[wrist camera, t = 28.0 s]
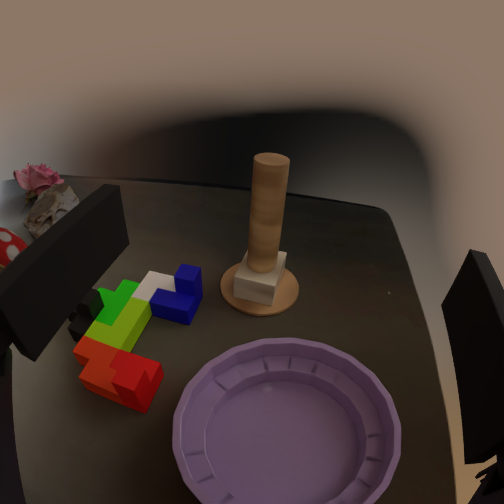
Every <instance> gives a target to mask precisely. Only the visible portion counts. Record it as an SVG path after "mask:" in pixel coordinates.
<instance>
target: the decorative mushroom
mask: <svg viewBox="0 0 504 504" xmlns="http://www.w3.org/2000/svg"><path fill="white" fill-rule="evenodd" d="M26 247H28V246H27V245H26V243H25V242H24V241H23V240H22V239H21V238H20V237H19V236H18V235H17V234H15V233H14V232H12V231H10V230H7V229H5V228H0V271H1V270H2V269H3V268H6V265H7V264H8V263H9V262H10V261H12V260H14V258H15V257H16V256H17V255H18V254H19V253H20V252H21V251H22V250H23V249H25V248H26Z"/></svg>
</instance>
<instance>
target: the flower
mask: <svg viewBox="0 0 504 504" xmlns="http://www.w3.org/2000/svg"><path fill="white" fill-rule="evenodd" d="M26 167H27V169H22V171H21V172H20V171H14V173H13V174H14V177H15V179H16V180H17V181H18V184H19V185H20V186H21V187H22V188H24V189H25V190H28V192H27V193H26V194H27V197H26V204H27V203H28V202H29V200H31V203H32V201H33V200H34V199H35V198H36V197H38V196H39V195H40V194H41V193H42V192H43V191H45V190H47V189H48V188H50V187H51V186H53V185H54V184H60V183H63V182H64V179H59V178H60V176H59V175H58V173H57V172H53V170H51V169H50V167H49V168H46V165H45V164H44V165H43V164H41V166H33V165H30V166H29V163H28V164H27V166H26ZM25 206H26V205H25ZM24 208H25V207H24ZM23 210H24V209H23ZM21 213H22V212H21Z"/></svg>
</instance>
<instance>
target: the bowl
mask: <svg viewBox="0 0 504 504" xmlns="http://www.w3.org/2000/svg"><path fill="white" fill-rule="evenodd" d="M172 450H173V453H174V456H175V459H176V462H177V465H178V468H179V470H180V473H181V476H182V479H183V481H184V483H185V484H186V486H187V487H188V489H189V490H190V491H191V492H192V494H193V495H194V496H195V497H196V498H197V500H198V501H199V502H200V503H201V504H374V503H375V501H376V500H377V499H378V498H379V497H380V496H381V495H382V493H383V492H384V491H385V490H386V489H387V488H388V486H389V484H390V482H391V479H392V477H393V474H394V472H395V469H396V467H397V464H398V461H399V459H400V455H401V424H400V421H399V418H398V415H397V412H396V409H395V406H394V403H393V400H392V398H391V396H390V394H389V393H388V392H387V390H386V389H385V388H384V386H383V385H382V383H381V382H380V381H379V379H378V378H377V377H376V375H375V374H374V373H373V372H372V371H370V370H369V369H368V368H367V367H365V366H364V365H363V364H361V363H360V362H359V361H358V360H356V359H355V358H354V357H352V356H351V355H349V354H347V353H344V352H342V351H340V350H338V349H335V348H333V347H331V346H329V345H326V344H323V343H320V342H314V341H309V340H304V339H299V338H293V337H292V338H269V339H260V340H257V341H253V342H250V343H246V344H243V345H239V346H236V347H233V348H231V349H229V350H228V351H226V352H224V353H223V354H221V355H219V356H218V357H216V358H214V359H213V360H211V361H209V362H207V363H206V364H205V365H204V366H203V367H202V369H201V370H200V371H199V372H198V373H197V374H196V375H195V376H194V377H193V378H192V380H191V381H190V382H189V383H188V384H187V385H186V387H185V389H184V391H183V393H182V396H181V398H180V400H179V403H178V405H177V407H176V410H175V412H174V415H173V432H172Z"/></svg>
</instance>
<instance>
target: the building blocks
mask: <svg viewBox="0 0 504 504" xmlns="http://www.w3.org/2000/svg"><path fill="white" fill-rule="evenodd" d="M202 297H203V292H202V278H201V267H196V266H191V265H186V264H181V265H180V267H179V269H178V271H177V272H176V274H175V276H169V275H165V274H161V273H157V272H153V271H149V272H148V274H147V275H146V276H145V278H144V279H143V281H142V282H141V283H137V282H133V281H129V280H125V279H124V280H123V281H122V283H121V284H120V286H119V287H118V288H117V290H116V291H115V292H113V291H110V290H107V289H104V288H99V289H98V290H95V289H92V288H91V289H90V290H89V292H88V293H87V294H86V295H85V297H84V298H83V299H82V300H81V302H80V303H79V304H78V305H77V307H76V308H75V309H74V310H73V312H72V313H71V314H70V315H69V317H68V319H69V321H72V323H71V324H70V325H69V327H68V330H69V332H70V334H71V336H72V338H73V340H74V341H76V342H78V344H77V345H76V347H75V348H74V350H73V351H72V352H73V353H74V355H75V357H76V358H77V360H78V362H79V363H80V364H81V365H83V366H85V367H84V369H83V371H82V372H81V374H80V375H79V378H80V380H81V381H82V383H83V384H84V386H85V387H86V389H88V390H90V391H92V392H94V393H96V394H99V395H101V396H103V397H105V398H107V399H110V400H112V401H114V402H117V403H119V404H122V405H124V406H127V407H129V408H132V409H134V410H137V411H140V412H142V413H145V414H146V412H147V410H148V408H149V406H150V404H151V402H152V399H153V397H154V395H155V393H156V391H157V389H158V387H159V385H160V383H161V381H162V379H163V376H164V374H163V370H162V367H161V364H160V363H159V362H156V361H153V360H150V359H147V358H144V357H141V356H138V355H135V354H133V353H130V352H131V350H132V349H133V347H134V345H135V343H136V342H137V340H138V338H139V336H140V335H141V333H142V331H143V329H144V328H145V326H146V324H147V323H148V321H149V319H150V318H151V316H156V317H160V318H163V319H167V320H171V321H175V322H179V323H183V324H187V325H190V323H191V321H192V319H193V317H194V315H195V312H196V310H197V308H198V306H199V304H200V302H201V299H202Z"/></svg>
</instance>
